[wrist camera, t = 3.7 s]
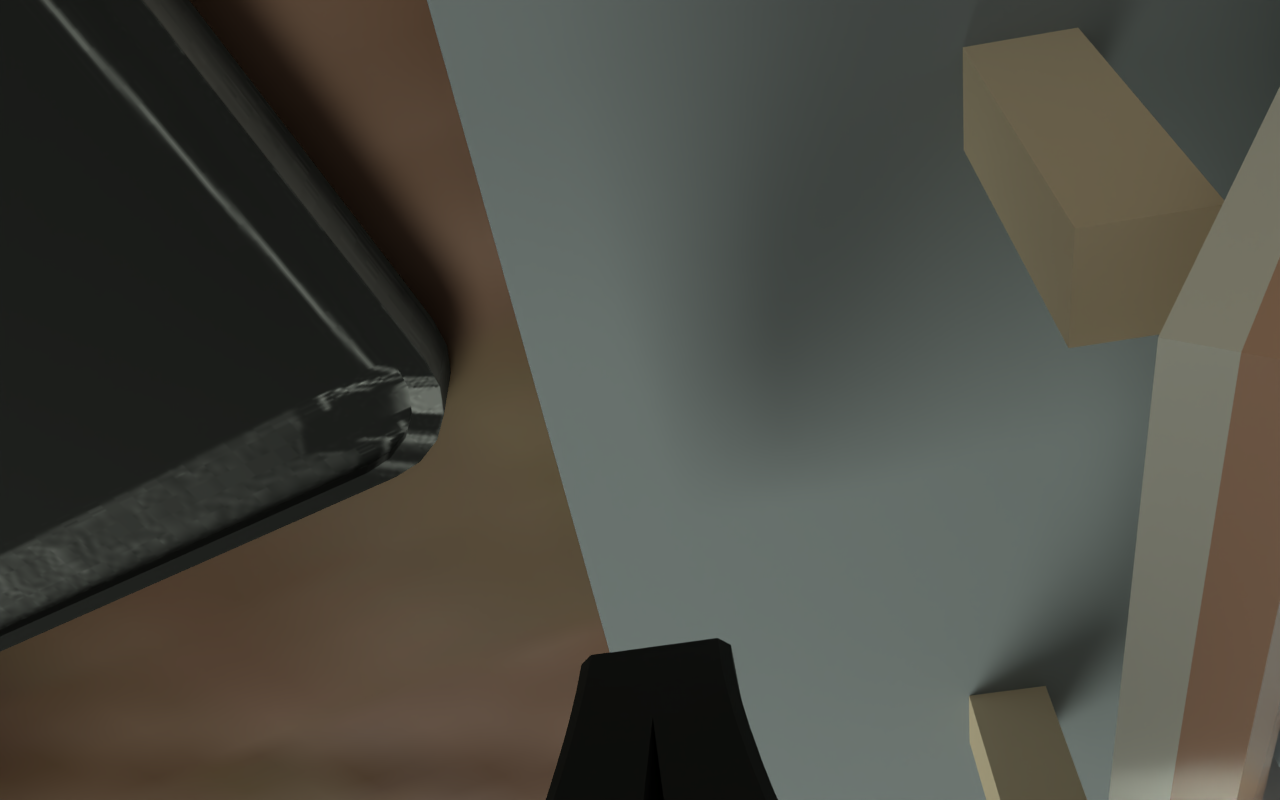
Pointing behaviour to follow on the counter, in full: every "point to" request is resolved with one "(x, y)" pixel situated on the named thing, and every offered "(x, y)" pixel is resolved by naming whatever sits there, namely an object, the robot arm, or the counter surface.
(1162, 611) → the tile
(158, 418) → the phone
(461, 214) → the counter surface
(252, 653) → the counter surface
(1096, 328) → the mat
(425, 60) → the counter surface
